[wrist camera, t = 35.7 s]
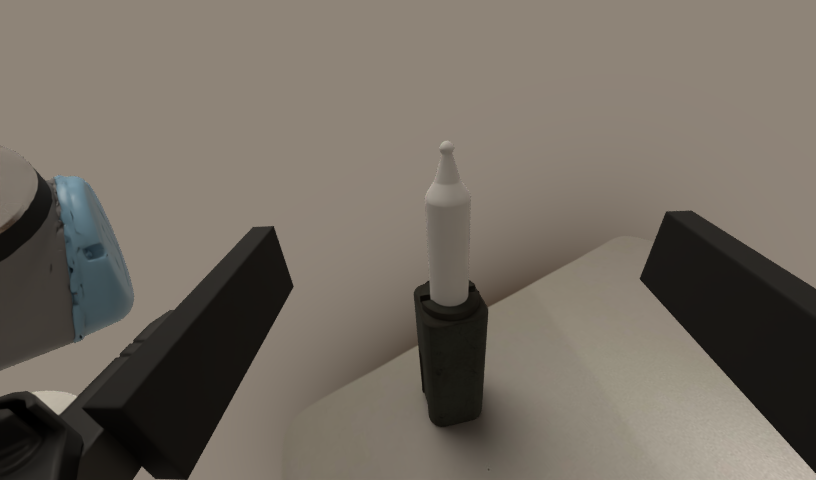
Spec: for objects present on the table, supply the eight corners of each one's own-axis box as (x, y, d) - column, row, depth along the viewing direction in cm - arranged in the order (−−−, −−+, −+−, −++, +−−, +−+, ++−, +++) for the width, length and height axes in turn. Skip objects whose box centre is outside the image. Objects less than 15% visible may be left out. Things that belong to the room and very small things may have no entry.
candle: (420, 381, 33) (396, 137, 21) (466, 370, 34) (472, 127, 21) (432, 429, 29) (413, 158, 16) (485, 416, 30) (507, 146, 17)
